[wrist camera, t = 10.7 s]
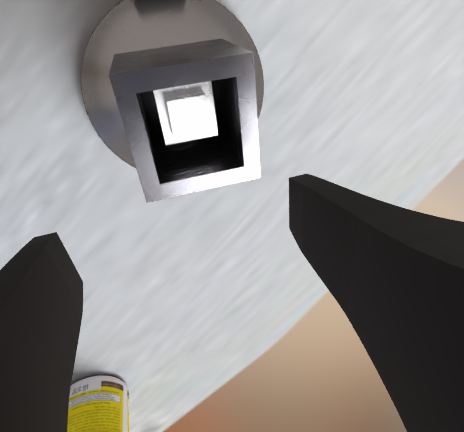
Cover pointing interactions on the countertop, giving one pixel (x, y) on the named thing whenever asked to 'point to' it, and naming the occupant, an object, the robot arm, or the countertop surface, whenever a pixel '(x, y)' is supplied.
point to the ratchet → (169, 99)
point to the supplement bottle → (98, 405)
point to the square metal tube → (200, 150)
